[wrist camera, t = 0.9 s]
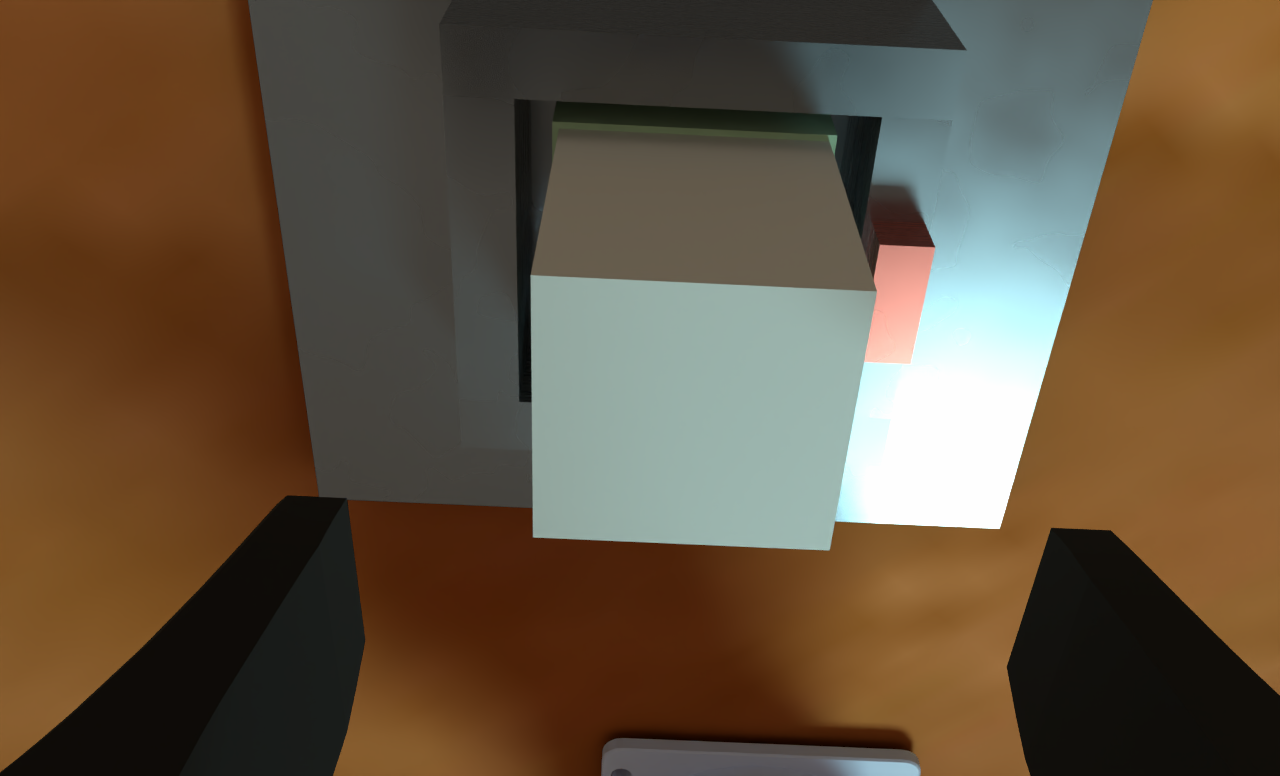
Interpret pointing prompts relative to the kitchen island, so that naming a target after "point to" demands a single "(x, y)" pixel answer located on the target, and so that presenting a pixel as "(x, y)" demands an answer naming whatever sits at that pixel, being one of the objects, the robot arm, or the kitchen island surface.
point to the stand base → (694, 78)
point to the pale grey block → (694, 328)
